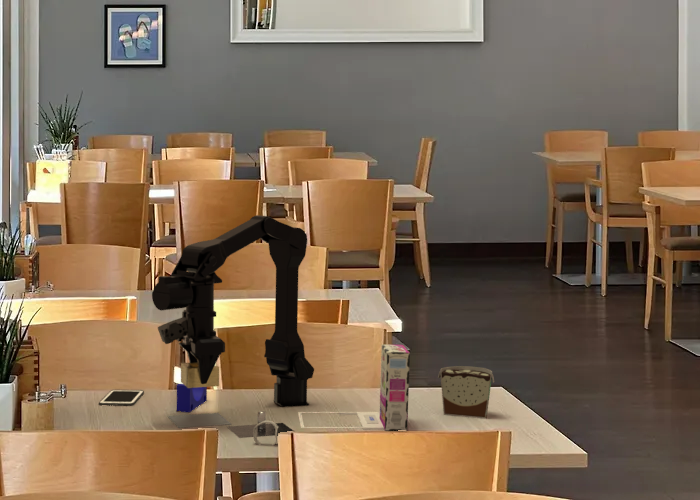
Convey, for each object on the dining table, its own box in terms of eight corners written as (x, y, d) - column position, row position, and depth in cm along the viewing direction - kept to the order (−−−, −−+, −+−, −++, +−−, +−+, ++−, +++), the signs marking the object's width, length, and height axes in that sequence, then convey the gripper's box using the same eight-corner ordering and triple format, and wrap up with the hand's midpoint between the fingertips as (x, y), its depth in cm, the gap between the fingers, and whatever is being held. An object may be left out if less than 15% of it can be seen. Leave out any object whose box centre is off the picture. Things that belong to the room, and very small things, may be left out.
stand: (282, 425, 260) (282, 405, 259) (297, 436, 250) (297, 415, 250) (226, 428, 256) (226, 408, 255) (239, 440, 246) (239, 419, 246)
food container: (498, 413, 274) (500, 368, 273) (492, 419, 269) (494, 373, 268) (444, 408, 278) (445, 364, 277) (437, 414, 273) (438, 368, 272)
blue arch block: (187, 400, 283) (187, 374, 283) (206, 401, 282) (206, 375, 282) (170, 412, 271) (170, 384, 271) (189, 413, 270) (190, 385, 270)
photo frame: (388, 426, 257) (301, 426, 256) (388, 432, 257) (301, 432, 256) (381, 411, 272) (298, 411, 270) (381, 416, 272) (297, 416, 270)
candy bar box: (409, 432, 256) (410, 352, 254) (384, 432, 255) (386, 352, 254) (402, 419, 267) (403, 343, 265) (378, 419, 266) (380, 343, 265)
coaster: (218, 415, 268) (218, 412, 268) (231, 426, 257) (231, 423, 257) (167, 418, 264) (167, 415, 264) (178, 430, 254) (178, 427, 254)
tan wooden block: (180, 381, 262) (180, 363, 262) (211, 380, 264) (211, 361, 264) (187, 387, 256) (187, 368, 256) (219, 386, 258) (219, 366, 258)
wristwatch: (277, 449, 240) (277, 423, 240) (252, 447, 241) (252, 422, 240) (280, 445, 243) (281, 420, 242) (255, 444, 244) (255, 418, 243)
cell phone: (98, 407, 276) (97, 402, 276) (111, 393, 290) (111, 389, 290) (133, 407, 276) (133, 403, 276) (144, 394, 290) (144, 389, 290)
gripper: (152, 301, 264) (152, 374, 266) (171, 313, 247) (171, 391, 248) (203, 299, 268) (203, 371, 270) (225, 311, 251) (225, 388, 252)
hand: (199, 380), depth 260 cm, fingers closed on tan wooden block, 6 cm apart
